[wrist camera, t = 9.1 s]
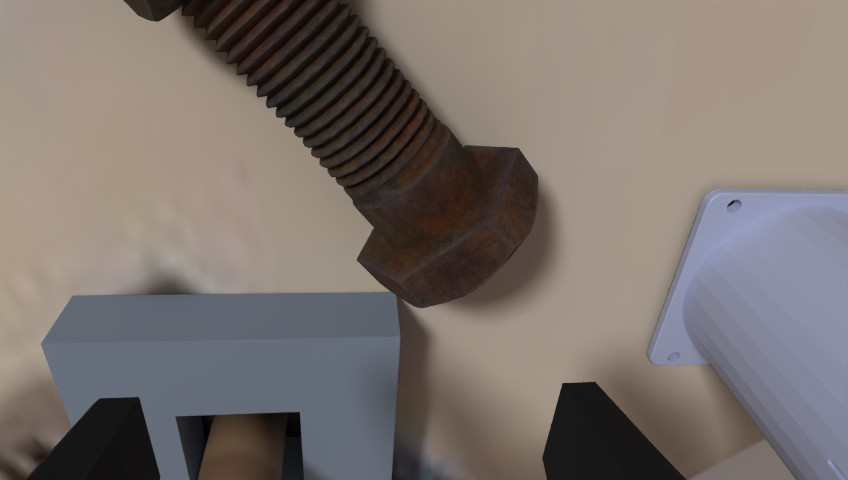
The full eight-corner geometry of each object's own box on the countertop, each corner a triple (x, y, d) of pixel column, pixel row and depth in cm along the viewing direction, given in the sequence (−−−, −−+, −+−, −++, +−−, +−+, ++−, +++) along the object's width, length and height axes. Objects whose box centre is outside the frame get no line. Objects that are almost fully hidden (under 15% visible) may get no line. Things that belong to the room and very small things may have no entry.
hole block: (395, 292, 21) (400, 336, 19) (385, 481, 27) (388, 531, 25) (72, 295, 20) (41, 343, 18) (135, 495, 25) (116, 548, 23)
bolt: (111, -279, 14) (465, 175, 20) (-67, -156, 13) (369, 280, 19) (112, -515, 9) (581, 191, 15) (-184, -344, 8) (460, 334, 14)
